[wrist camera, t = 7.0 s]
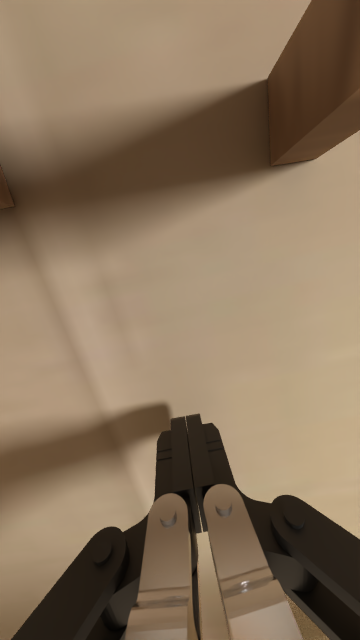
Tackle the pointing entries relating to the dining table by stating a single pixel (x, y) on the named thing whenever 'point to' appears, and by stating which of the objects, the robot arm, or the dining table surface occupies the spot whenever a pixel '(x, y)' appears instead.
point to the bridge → (308, 86)
